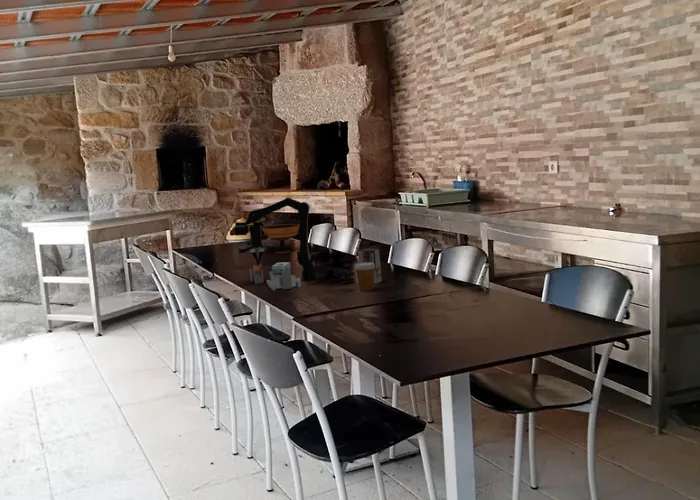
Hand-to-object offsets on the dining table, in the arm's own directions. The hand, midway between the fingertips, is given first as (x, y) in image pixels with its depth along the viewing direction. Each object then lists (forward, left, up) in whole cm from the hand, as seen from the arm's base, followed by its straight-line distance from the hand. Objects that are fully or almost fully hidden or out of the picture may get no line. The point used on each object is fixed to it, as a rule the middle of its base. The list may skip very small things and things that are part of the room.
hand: (257, 265), depth 335 cm
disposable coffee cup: (-43, +47, -10) cm, 65 cm away
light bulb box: (-10, +13, -10) cm, 19 cm away
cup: (-31, -104, -10) cm, 109 cm away
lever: (0, -3, -5) cm, 6 cm away
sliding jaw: (-10, +22, -9) cm, 26 cm away
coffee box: (-50, +33, -10) cm, 60 cm away
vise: (-7, +8, -9) cm, 14 cm away
